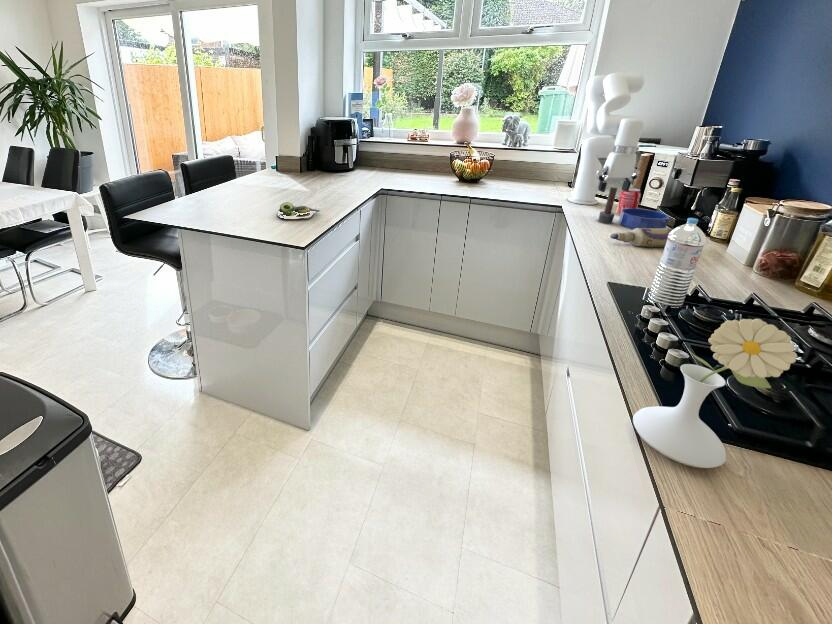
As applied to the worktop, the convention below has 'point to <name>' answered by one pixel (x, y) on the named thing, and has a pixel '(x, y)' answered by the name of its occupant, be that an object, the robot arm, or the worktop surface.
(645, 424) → the flower in vase
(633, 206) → the soda can
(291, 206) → the salad plate
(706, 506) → the worktop surface
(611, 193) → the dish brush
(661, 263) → the water bottle
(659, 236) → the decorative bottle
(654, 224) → the blue bowl
